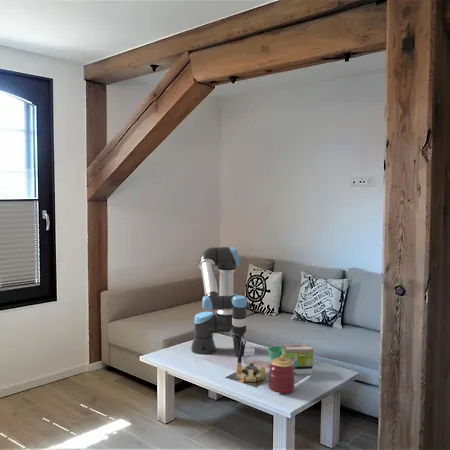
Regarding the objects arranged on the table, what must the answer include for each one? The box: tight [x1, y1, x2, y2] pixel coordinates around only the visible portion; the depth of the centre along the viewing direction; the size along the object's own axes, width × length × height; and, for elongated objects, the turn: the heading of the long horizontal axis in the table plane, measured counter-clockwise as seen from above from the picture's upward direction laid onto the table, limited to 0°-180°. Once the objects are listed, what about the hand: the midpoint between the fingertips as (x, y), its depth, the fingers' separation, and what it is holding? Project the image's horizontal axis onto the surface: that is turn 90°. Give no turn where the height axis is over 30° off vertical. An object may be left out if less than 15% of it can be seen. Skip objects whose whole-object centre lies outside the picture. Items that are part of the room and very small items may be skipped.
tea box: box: [281, 343, 314, 376], centre depth 268 cm, size 15×10×15 cm, turn 99°
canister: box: [268, 355, 296, 395], centre depth 245 cm, size 13×13×18 cm
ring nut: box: [235, 360, 267, 382], centre depth 259 cm, size 16×16×5 cm
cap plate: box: [224, 364, 269, 388], centre depth 259 cm, size 20×20×6 cm
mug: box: [268, 345, 282, 362], centre depth 279 cm, size 15×10×10 cm
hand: (238, 367), depth 261 cm, fingers closed
